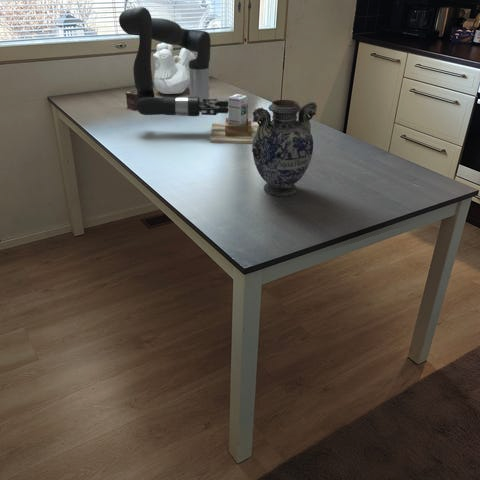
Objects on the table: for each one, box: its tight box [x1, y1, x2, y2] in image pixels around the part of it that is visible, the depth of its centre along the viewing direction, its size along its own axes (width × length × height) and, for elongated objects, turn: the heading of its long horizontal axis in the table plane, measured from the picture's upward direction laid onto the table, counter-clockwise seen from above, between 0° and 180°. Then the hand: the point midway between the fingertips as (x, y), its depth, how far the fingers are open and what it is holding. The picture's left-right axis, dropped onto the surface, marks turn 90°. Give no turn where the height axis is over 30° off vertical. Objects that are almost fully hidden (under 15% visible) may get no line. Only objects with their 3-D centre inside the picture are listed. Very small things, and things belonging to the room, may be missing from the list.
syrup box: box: [227, 93, 249, 125], centre depth 212 cm, size 6×6×14 cm
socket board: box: [209, 117, 259, 144], centre depth 215 cm, size 22×22×5 cm
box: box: [125, 89, 138, 111], centre depth 244 cm, size 6×6×7 cm
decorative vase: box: [251, 99, 318, 197], centre depth 163 cm, size 21×19×28 cm
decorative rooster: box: [152, 42, 197, 95], centre depth 264 cm, size 25×16×25 cm, turn 116°
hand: (228, 107), depth 211 cm, fingers open, 8 cm apart
